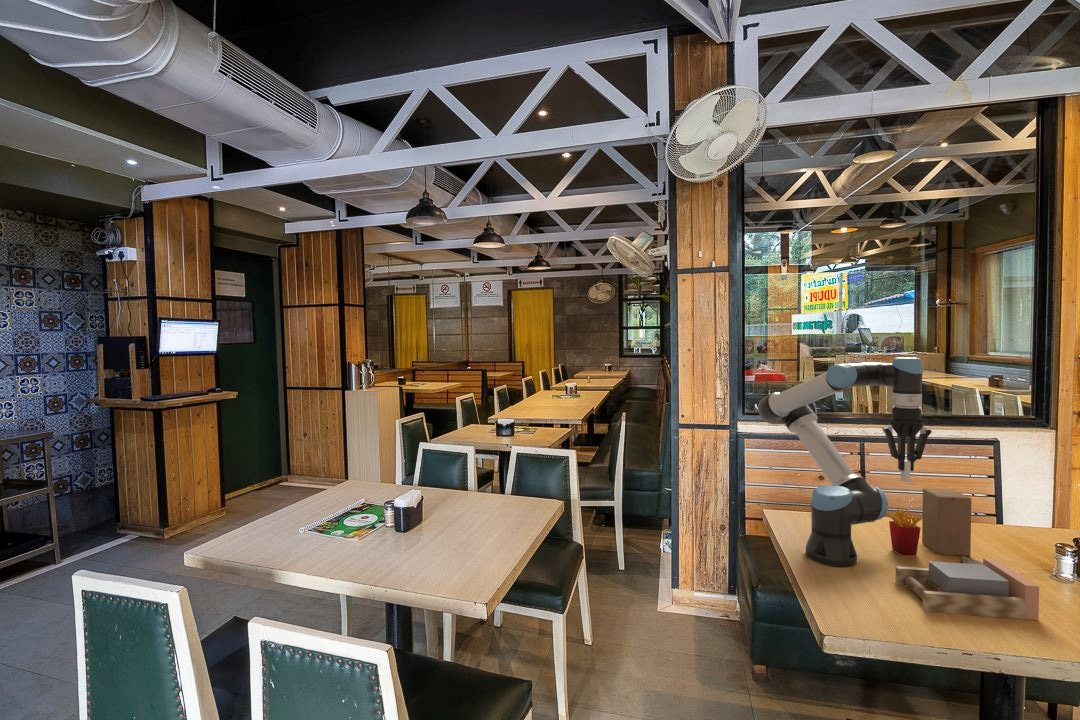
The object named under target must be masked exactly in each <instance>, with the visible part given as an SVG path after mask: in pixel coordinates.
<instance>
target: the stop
mask: <svg viewBox="0 0 1080 720" xmlns="http://www.w3.org/2000/svg"><path fill="white" fill-rule="evenodd" d="M982 561H983V565H985V566H987V567H988V568H990V569H991V570H993V571H994V572H996V573H997V574H999V575H1000V576H1002V577H1003V578H1005V579H1006V580H1008V581H1009V597H1019V598H1022V599H1024V600H1025V619H1024V620H1030V621H1039V615H1040V614H1039V612H1040V611H1039V610H1040V608H1039V607H1040V606H1039V605H1040V604H1039V603H1040V586H1039V585H1038V584H1037V583H1034V582H1033V581H1031V580H1029V579H1028V578H1026V577H1025V576H1023V575H1022V574H1020V573H1018V572H1016V571H1015V570H1013V569H1012V568H1010V567H1008V566H1007V565H1006V564H1004V563H1002V562H1000V561H999V560H997V559H996V558H983V559H982Z"/></svg>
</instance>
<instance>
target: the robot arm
mask: <svg viewBox="0 0 1080 720" xmlns="http://www.w3.org/2000/svg"><path fill="white" fill-rule="evenodd" d="M923 374H924V370H923V361H922V359H921V358H919V357H908V356H907V357H902V356H901V357H894V358H893V359H892V362H891V363H889V362H876V361H875V362H874V361H865V362H859V363H846V362H845V363H839V364H833V365H831V366H829V368H828V369H827V372H824V373H822V374H819V375H817V376H814V377H813V378H811V379H808V380H805V381H804V382H802V383H799V384H797V385H794V386H793V387H790V388H788V389H786V390H783V391H781V392H778V391H777V392H776V391H775V392H773V393H770V394H768V395H766V396H764V397H763V398H761V400H760V401H759V403H758V406H757V412H758V415H759V417H760V419H762V420H763V421H764V422H766V423H768V424H771V425H785V427H786V428H787V430H788V431H789V432H790V433H792V434H796V436H797V437H798V439H799V440H800V441H801V443H802V444H803V446H804V447H805V449H806V450H807V451H808V453H809V454H810V456H811V457H812V459H813V460H814V462H816V464H817V466H818V468H819V469H820V470H821V472H822V473H823V474H824V476H825V477H826V478H827V480H828V481H829V483H830V484H831V485H828V484H827V485H826V484H825V485H821V486H820V485H819V486H818V487H816V488H814V489H813V490H812V493H811V499H810V503H811V506H810V507H811V511H810V512H811V513H810V514H811V529H810V530H811V532H810V535H809V537H808V539H807V542H806V545H805V555H806V557H808V559H810V560H812V561H813V562H817V563H820V564H822V565H826V566H830V567H837V568H846V567H848V568H850V567H853V566H855V565H857V564H858V554H857V551H856V548H855V545H854V543H853V540H852V526H854V525H861V524H865V523H874V522H875V521H880V520H882V519H883V518H884V517H885V516H886V513H888V507H889V501H888V498H887V496H886V494H885V493H884V491H883V490H882V489H881V488H879V487H878V486H875V485H872V484H869V483H868V481H866V479H865V478H864V477H863V476H861V475H857V474H856V473H855V472H854V471H853V469H852V468H851V467H850V465H849V464H848V463H847V461H846V460H845V459H844V457H843V456H842V455H841V453H840V452H839V450H838V449H837V448H836V446H835V445H834V443H833V442H832V441H831V440H830V438H829V437H828V435H827V434H826V433H825V432H824V430H823V429H822V427H821V425H819V424H818V418H819V417H818V415H817V413H818V410H817V405H816V402H817V401H820V400H821V399H824V398H826V397H829V396H833V395H834V394H837V393H839V392H842V391H845V390H847V389H850V388H854V387H867V386H868V387H870V386H883V387H884V386H885V387H891V388H892V389H891V391H892V399H891V401H892V402H891V404H892V408H891V421H890V424H889V425H888V426H884V427H881V430H882V432H883V434H885V437H886V442H887V446H888V449H889V452H890V456H891V457H892V458H894V459H897V469H898V470H899V471H900V480H901V481H902V482H904V483H911V472H914V468H915V466H914V465H915V462H916V461H917V460H921V459H922V457H923V454H924V451H925V448H926V443H927V440H928V438H929V436H930V435H932V432H933V431H932V430H931V429H929V428H927V427H925V426H924V424H923V422H922V417H923V416H922V413H923V412H922V411H923V409H922V405H923V403H922V402H923V391H922V389H923ZM893 431H894V432H895V433H896V437H897V446H896V441H895V438H894V435H893ZM918 433H919V436H918V440H917V439H916V438H917V435H918ZM916 440H917V443H916Z"/></svg>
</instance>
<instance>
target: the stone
mask: <svg viewBox="0 0 1080 720" xmlns="http://www.w3.org/2000/svg"><path fill="white" fill-rule="evenodd" d="M960 563H963V564H979V565H983V562H982V561H980V560H975V559H973V558H969V557H968V556H961V559H960Z"/></svg>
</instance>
